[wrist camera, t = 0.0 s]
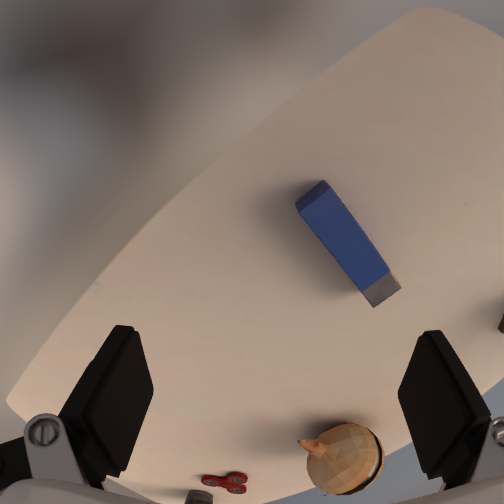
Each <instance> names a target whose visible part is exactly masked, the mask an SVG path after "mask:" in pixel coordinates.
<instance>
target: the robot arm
mask: <svg viewBox="0 0 504 504" xmlns="http://www.w3.org/2000/svg"><path fill="white" fill-rule="evenodd" d="M153 390H154V389H153V384H152V380H151V377H150V373H149V370H148V366H147V362H146V359H145V355H144V351H143V347H142V343H141V339H140V335H139V333H138V332H137V331H135V330H134V328H133V327H132V326H123V325H116V326H115V327H114V328H113V330H112V331H111V333H110V334H109V336H108V337H107V339H106V340H105V342H104V343H103V345H102V346H101V348H100V350H99V351H98V353H97V354H96V356H95V358H94V359H93V360H92V361H91V362H90V363H89V365H88V366H87V368H86V370H85V371H84V373H83V374H82V376H81V378H80V379H79V381H78V383H77V384H76V386H75V388H74V389H73V391H72V393H71V394H70V396H69V398H68V399H67V401H66V403H65V404H64V406H63V408H62V410H61V411H60V413H59V415H58V416H56V415H53V414H48V413H44V414H39V415H37V416H35V417H33V418H32V419H31V420H29V422H28V423H27V424H26V426H25V429H24V436H23V437H20V438H17V439H14V440H11V441H8V442H5V443H2V444H0V504H160V503H155V502H149V501H145V500H141V499H136V498H132V497H127V496H123V495H120V494H116V493H112V492H108V490H107V488H106V486H105V484H104V482H103V481H105V478H106V475H110V476H113V477H117V478H119V475H120V472H121V471H125V470H126V468H127V465H128V463H129V460H130V457H131V454H132V451H133V448H134V446H135V443H136V440H137V437H138V434H139V432H140V429H141V426H142V423H143V421H144V418H145V415H146V412H147V410H148V407H149V404H150V402H151V399H152V396H153ZM398 399H399V402H400V405H401V408H402V411H403V413H404V416H405V419H406V422H407V425H408V428H409V431H410V434H411V437H412V440H413V443H414V447H415V450H416V453H417V456H418V459H419V463H420V466H421V469H422V471H423V473H426V474H427V476H428V480H430V479H434V478H437V477H441V476H442V478H443V484H442V486H441V488H440V490H439V492H438V493H434V494H431V495H427V496H423V497H419V498H415V499H411V500H407V501H402V502H398V503H393V504H504V417H498V418H495V419H494V420H493V421H492V420H491V418H490V416H491V413H490V411H489V409H488V407H487V405H486V404H485V402H484V400H483V398H482V396H481V395H480V393H479V391H478V389H477V388H476V386H475V384H474V382H473V381H472V379H471V377H470V376H469V374H468V372H467V370H466V369H465V367H464V366H463V364H462V362H461V361H460V359H459V357H458V356H457V354H456V353H455V351H454V349H453V348H452V346H451V345H450V343H449V342H448V340H447V338H446V337H445V335H444V334H443V332H442V331H441V330H431V331H425V332H424V333H423V335H421V336H419V338H418V340H417V343H416V346H415V349H414V352H413V354H412V357H411V360H410V362H409V365H408V367H407V370H406V372H405V375H404V377H403V380H402V382H401V385H400V387H399V390H398Z"/></svg>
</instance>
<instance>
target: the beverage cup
mask: <svg viewBox="0 0 504 504" xmlns="http://www.w3.org/2000/svg"><path fill="white" fill-rule="evenodd" d="M212 498H213V496H212V494H210V493H208V492H205V491H201V490H190V491H189V493H188V496H187V498H186V501H185V504H213V499H212Z"/></svg>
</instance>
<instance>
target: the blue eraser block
mask: <svg viewBox="0 0 504 504" xmlns="http://www.w3.org/2000/svg"><path fill="white" fill-rule="evenodd" d="M295 204H296V207H297V210H298V213H299V215H300V216H301V217H302V218H303V219H304V221H305V222H306V223H307V224H308V226H309V227H310V228H311V229H312V230H313V232H314V233H315V234H316V235H317V237H318V238H319V239H320V240H321V241H322V243H323V244H324V245H325V246H326V248H327V249H328V250H329V251H330V253H331V254H332V255H333V256H334V258H335V259H336V260H337V262H338V263H339V264H340V265H341V267H342V268H343V269H344V270H345V272H346V273H347V274H348V276H349V277H350V278H351V279H352V281H353V282H354V283H355V285H356V286H357V287H358V289H359V290H360V291H361V292H362V294H363V295H364V296H365V298H366V299H367V300H368V302H369V303H370V304H371V306H372V307H373V308H374V307H376V306H377V305H379V304H380V303H381V302H383V301H384V300H386V299H387V298H388V297H390V296H391V295H393V294H394V293H395V292H397V291H398V290H399V289H401V286H400V284H399V283H398V281H397V280H396V278H395V277H394V275H393V274H392V272H391V271H390V269H389V268H388V266H387V265H386V263H385V262H384V260H383V259H382V257H381V256H380V254H379V253H378V251H377V250H376V248H375V247H374V245H373V244H372V243H371V241H370V240H369V238H368V237H367V235H366V234H365V233H364V231H363V230H362V228H361V227H360V226H359V224H358V223H357V221H356V220H355V219H354V217H353V216H352V215H351V213H350V212H349V211H348V209H347V208H346V207H345V205H344V204H343V203H342V201H341V200H340V199H339V197H338V196H337V195H336V193H335V192H334V191H333V189H332V188H331V187H330V186H329V185H328V184H327V182H326V181H325V180H323V181H322V182H320V183H319V184H318V185H317V186H315V187H314V188H313V189H312V190H310V191H309V192H308V193H306V194H305V195H304V196H303V197H301V198H300V199H299V200H298V201H296V202H295Z"/></svg>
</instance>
